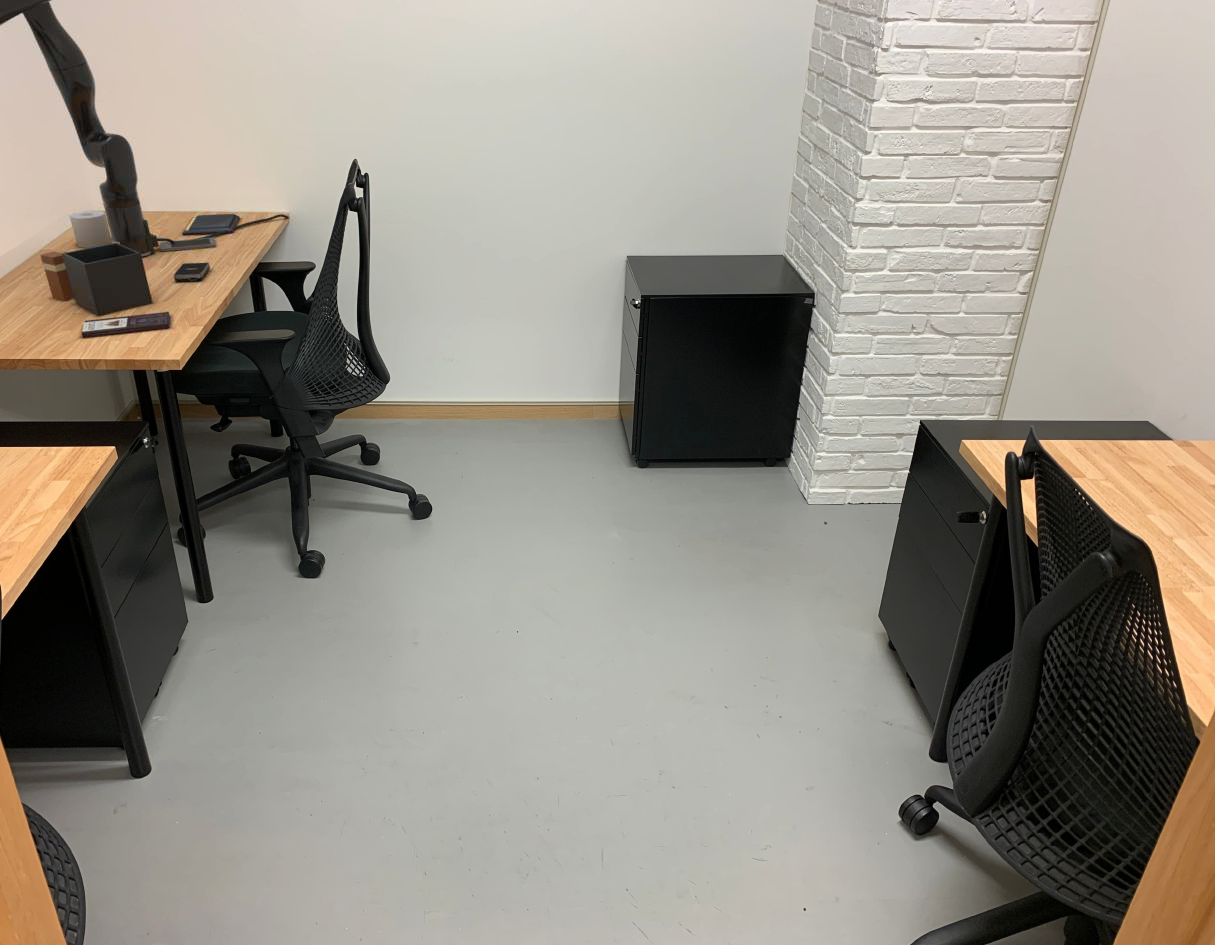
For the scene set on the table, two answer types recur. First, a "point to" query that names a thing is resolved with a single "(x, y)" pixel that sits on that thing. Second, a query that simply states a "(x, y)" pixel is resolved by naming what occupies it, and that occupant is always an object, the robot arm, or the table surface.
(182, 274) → the external hard drive
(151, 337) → the table surface
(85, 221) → the toilet tissue
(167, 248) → the smartphone
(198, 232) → the dark blue book
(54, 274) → the chocolate box
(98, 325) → the chocolate bar
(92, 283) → the trash can
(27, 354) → the table surface
